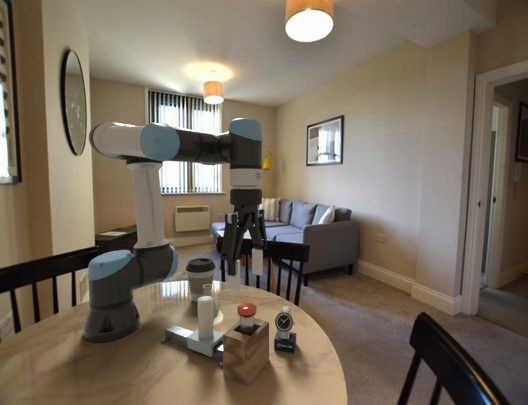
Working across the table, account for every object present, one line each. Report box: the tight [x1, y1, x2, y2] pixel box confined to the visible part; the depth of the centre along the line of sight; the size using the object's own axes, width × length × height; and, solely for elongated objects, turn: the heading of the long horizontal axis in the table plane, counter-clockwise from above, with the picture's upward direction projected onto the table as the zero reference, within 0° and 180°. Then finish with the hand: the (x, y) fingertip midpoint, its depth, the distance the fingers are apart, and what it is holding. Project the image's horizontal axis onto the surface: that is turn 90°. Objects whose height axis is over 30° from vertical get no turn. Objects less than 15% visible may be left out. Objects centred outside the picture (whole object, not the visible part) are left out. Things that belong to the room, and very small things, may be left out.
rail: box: [160, 324, 223, 368], centre depth 72 cm, size 22×6×3 cm, turn 62°
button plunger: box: [237, 302, 257, 336], centre depth 64 cm, size 5×5×6 cm
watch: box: [273, 305, 297, 354], centre depth 72 cm, size 6×8×11 cm
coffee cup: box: [185, 257, 216, 303], centre depth 102 cm, size 11×11×15 cm
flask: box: [197, 284, 219, 318], centre depth 90 cm, size 7×7×10 cm
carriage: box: [187, 296, 225, 358], centre depth 70 cm, size 8×6×13 cm
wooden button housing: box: [222, 317, 270, 387], centre depth 64 cm, size 7×10×10 cm
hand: (246, 281), depth 63 cm, fingers open, 10 cm apart
